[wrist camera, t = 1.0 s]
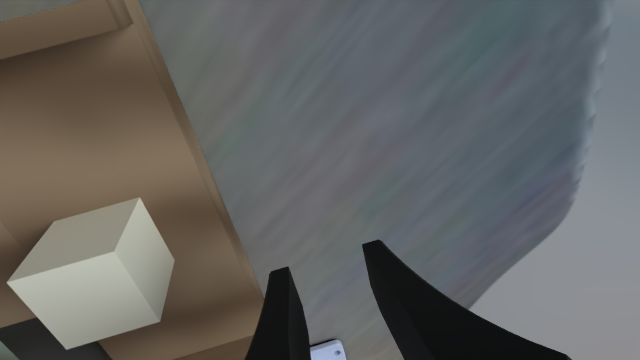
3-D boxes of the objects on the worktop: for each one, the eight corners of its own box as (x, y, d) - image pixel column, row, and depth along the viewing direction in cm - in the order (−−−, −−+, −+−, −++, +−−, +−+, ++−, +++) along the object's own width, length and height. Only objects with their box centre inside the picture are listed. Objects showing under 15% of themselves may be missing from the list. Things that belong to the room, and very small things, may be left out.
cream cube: (174, 260, 19) (160, 321, 16) (98, 282, 19) (66, 349, 16) (139, 197, 17) (114, 251, 14) (53, 221, 17) (6, 282, 14)
